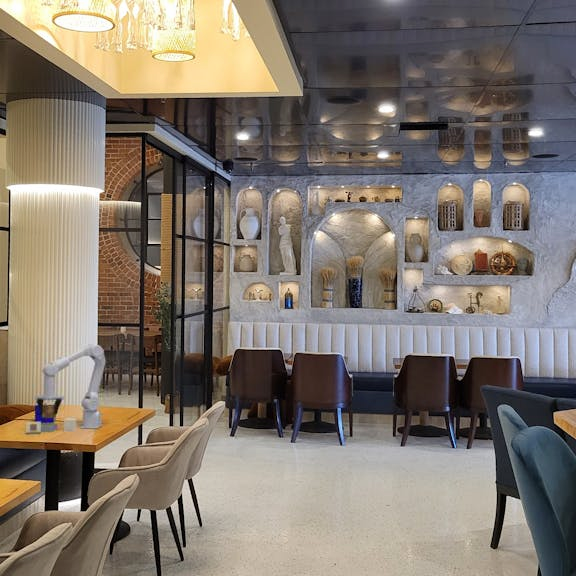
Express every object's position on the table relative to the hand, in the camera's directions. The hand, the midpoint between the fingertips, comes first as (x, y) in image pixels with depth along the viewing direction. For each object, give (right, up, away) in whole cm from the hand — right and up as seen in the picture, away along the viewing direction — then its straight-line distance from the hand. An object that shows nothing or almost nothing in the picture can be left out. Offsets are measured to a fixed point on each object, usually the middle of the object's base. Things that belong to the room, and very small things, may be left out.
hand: (49, 413), depth 384 cm
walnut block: (0, -2, 0) cm, 2 cm away
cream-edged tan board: (-6, -9, -7) cm, 13 cm away
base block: (-2, -9, +2) cm, 10 cm away
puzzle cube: (-11, -9, +29) cm, 32 cm away
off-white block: (+10, -9, +3) cm, 14 cm away
